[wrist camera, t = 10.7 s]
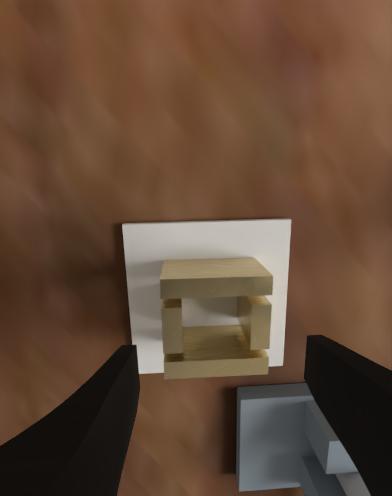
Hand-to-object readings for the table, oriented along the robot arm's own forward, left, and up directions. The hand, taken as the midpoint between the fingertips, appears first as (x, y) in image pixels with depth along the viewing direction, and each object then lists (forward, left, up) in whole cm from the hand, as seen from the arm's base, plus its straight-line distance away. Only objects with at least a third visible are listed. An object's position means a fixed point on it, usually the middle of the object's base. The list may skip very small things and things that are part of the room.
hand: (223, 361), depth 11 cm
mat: (0, 0, -7) cm, 7 cm away
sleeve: (0, 0, -6) cm, 6 cm away
